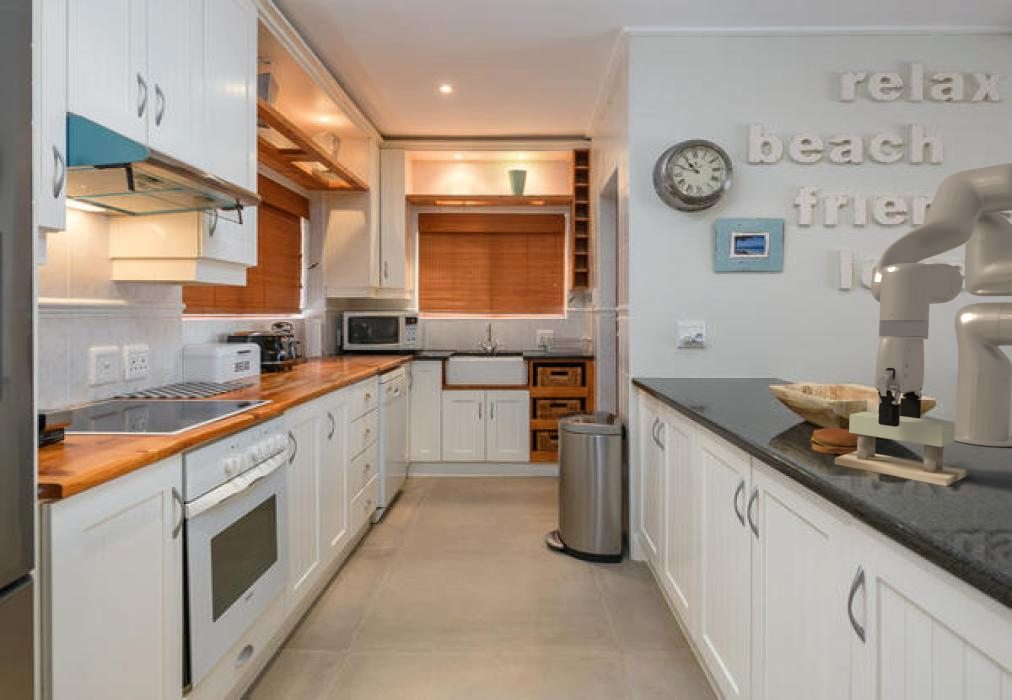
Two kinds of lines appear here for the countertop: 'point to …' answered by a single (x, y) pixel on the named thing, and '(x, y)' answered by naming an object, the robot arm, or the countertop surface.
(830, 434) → the burger
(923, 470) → the peg rack
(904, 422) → the shelf board
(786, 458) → the countertop surface
